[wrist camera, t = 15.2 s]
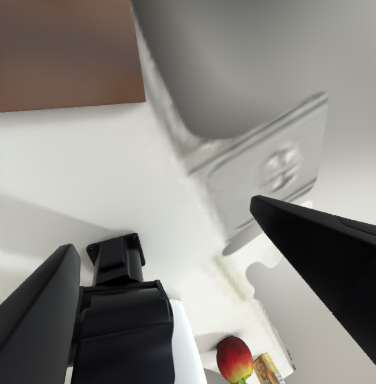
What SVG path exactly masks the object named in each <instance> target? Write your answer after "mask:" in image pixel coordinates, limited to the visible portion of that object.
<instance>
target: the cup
mask: <svg viewBox="0 0 376 384" xmlns="http://www.w3.org/2000/svg"><path fill="white" fill-rule="evenodd" d="M169 301H170V303H171V306H172V310H173V316H174V332H173V337H172V352H173V361H174V369H175V382H174V384H207V382H206V377H205V374H204V370H203V366H202V363H201V359H200V356H199V352H198V349H197V346H196V343H195V340H194V337H193V334H192V331H191V328H190V325H189V322H188V319H187V317H186V314H185V311H184V309H183V306H182V303H181V302H180V301H178V300H173V299H171V300H169Z"/></svg>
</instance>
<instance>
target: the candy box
mask: <svg viewBox="0 0 376 384" xmlns="http://www.w3.org/2000/svg"><path fill="white" fill-rule="evenodd" d="M253 369H254V371H255V373H256V375H257V377H258V379H259V381H260V383H261V384H285V383H284V380H283V379H282V377H281V375H280V373H279V372H278V370H277V368H276V366H275V365H274V363H273V361H272V360H271V358H270V356H269V354H268V353H264V354H262V355H261V356H260V357H259V358H258V359H257V360H256V361H255V362H254V363H253Z"/></svg>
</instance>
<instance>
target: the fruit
mask: <svg viewBox="0 0 376 384" xmlns="http://www.w3.org/2000/svg"><path fill="white" fill-rule="evenodd" d="M216 359H217V365H218V368H219V370H220V372H221V374H222V375H223V377H224V378H225V379H226V380H227V381H229V382H230V383H231V384H241V383H242V382H244V384H246V382H245V380H246V379H247V378H248V377H250V376H251V375H252V373H253V360H252V355H251V352H250V350H249V348H248V346H247V345H246V344H245V342H244V341H243V340H241V339H240V338H238V337H234V336H233V337H229V338H227V339H225V340H224V341H222V342H221V343H220V344H219V346H218V349H217V355H216Z"/></svg>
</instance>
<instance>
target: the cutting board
mask: <svg viewBox="0 0 376 384" xmlns="http://www.w3.org/2000/svg"><path fill="white" fill-rule="evenodd" d="M137 102H146V98H145V91H144V85H143V78H142V72H141V65H140V59H139V52H138V46H137V39H136V33H135V26H134V20H133V13H132V7H131V0H0V112H14V111H27V110H41V109H55V108H69V107H82V106H96V105H110V104H123V103H137Z"/></svg>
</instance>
